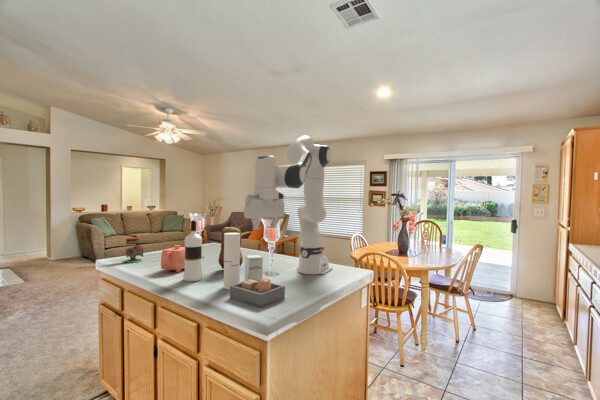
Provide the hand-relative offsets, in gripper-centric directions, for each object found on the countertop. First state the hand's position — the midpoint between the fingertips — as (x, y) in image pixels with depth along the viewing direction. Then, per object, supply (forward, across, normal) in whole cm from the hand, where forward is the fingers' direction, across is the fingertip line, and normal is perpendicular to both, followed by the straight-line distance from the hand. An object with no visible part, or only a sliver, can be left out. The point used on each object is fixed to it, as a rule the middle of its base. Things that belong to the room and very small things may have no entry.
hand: (264, 228), depth 118 cm
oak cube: (+28, 0, +8) cm, 29 cm away
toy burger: (+29, -1, +116) cm, 120 cm away
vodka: (+29, -1, +49) cm, 57 cm away
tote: (+29, 0, +4) cm, 29 cm away
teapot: (+29, +5, +74) cm, 80 cm away
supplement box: (+29, +16, +23) cm, 41 cm away
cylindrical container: (+29, +3, +24) cm, 38 cm away
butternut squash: (+29, +23, +49) cm, 62 cm away
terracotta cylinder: (+28, 0, 0) cm, 28 cm away
